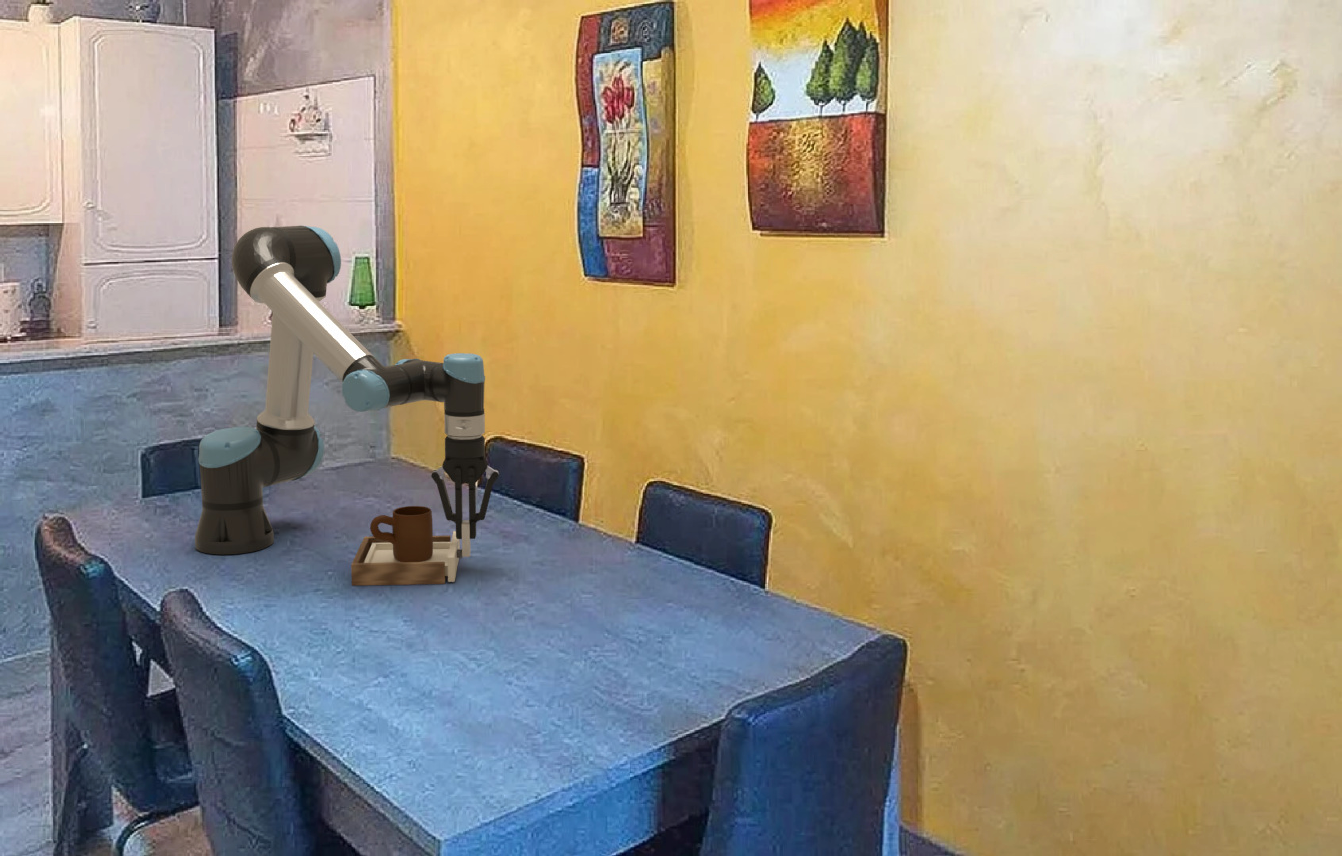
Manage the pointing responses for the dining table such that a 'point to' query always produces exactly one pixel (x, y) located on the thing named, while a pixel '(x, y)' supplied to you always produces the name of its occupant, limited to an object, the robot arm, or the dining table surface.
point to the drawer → (441, 553)
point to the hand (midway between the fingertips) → (466, 554)
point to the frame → (395, 568)
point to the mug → (407, 533)
